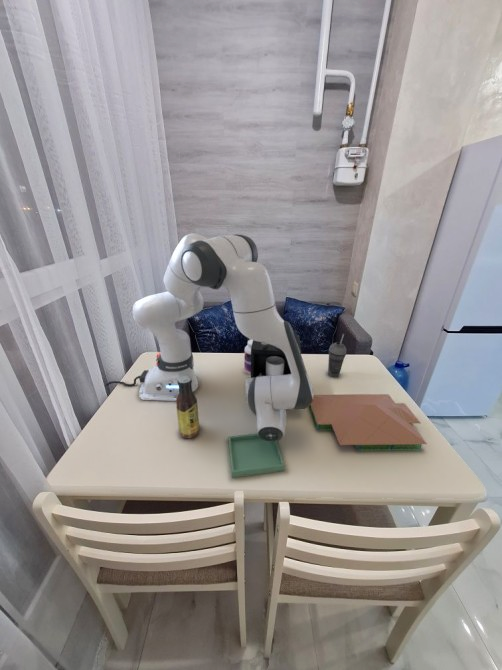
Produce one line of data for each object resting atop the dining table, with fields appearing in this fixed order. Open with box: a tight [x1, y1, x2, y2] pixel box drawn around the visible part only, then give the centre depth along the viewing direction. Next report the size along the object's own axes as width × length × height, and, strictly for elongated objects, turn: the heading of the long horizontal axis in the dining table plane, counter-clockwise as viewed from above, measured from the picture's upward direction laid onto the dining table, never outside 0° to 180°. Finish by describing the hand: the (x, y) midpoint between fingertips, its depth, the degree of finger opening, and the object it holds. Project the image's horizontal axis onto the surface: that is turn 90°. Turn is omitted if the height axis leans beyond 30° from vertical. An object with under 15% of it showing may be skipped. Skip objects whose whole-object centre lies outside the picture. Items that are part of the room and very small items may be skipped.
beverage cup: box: [327, 333, 347, 379], centre depth 110 cm, size 7×7×20 cm
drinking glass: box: [266, 356, 284, 376], centre depth 99 cm, size 7×7×15 cm
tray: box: [227, 433, 285, 478], centre depth 76 cm, size 14×12×2 cm
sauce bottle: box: [175, 376, 200, 439], centre depth 80 cm, size 7×6×20 cm
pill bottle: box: [243, 339, 253, 375], centre depth 113 cm, size 8×8×14 cm
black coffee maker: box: [250, 334, 302, 378], centre depth 99 cm, size 14×17×23 cm
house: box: [309, 393, 428, 451], centre depth 86 cm, size 23×33×8 cm
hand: (274, 375), depth 99 cm, fingers open, 8 cm apart
